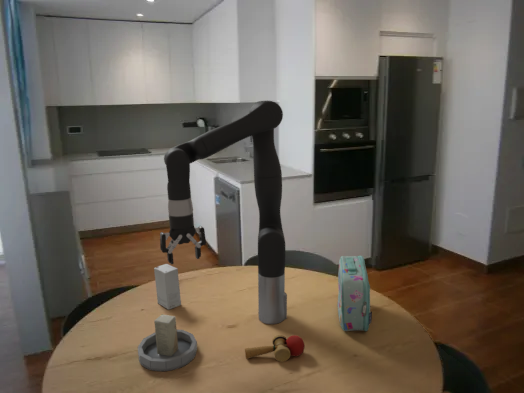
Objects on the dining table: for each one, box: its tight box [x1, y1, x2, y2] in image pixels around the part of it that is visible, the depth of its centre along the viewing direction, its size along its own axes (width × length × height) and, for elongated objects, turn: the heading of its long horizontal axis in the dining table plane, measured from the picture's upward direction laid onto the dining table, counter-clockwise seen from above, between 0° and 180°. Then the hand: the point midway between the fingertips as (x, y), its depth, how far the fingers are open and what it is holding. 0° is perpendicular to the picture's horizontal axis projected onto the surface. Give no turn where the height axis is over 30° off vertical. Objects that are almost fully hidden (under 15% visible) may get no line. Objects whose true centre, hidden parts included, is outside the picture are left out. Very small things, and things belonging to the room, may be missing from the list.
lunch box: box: [336, 255, 373, 332], centre depth 144 cm, size 27×10×21 cm, turn 173°
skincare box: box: [153, 263, 182, 311], centre depth 156 cm, size 8×6×15 cm
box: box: [154, 314, 178, 356], centre depth 125 cm, size 5×4×11 cm
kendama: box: [244, 334, 305, 362], centre depth 124 cm, size 8×6×18 cm
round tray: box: [137, 329, 198, 372], centre depth 126 cm, size 17×17×3 cm
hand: (184, 260), depth 133 cm, fingers open, 8 cm apart
